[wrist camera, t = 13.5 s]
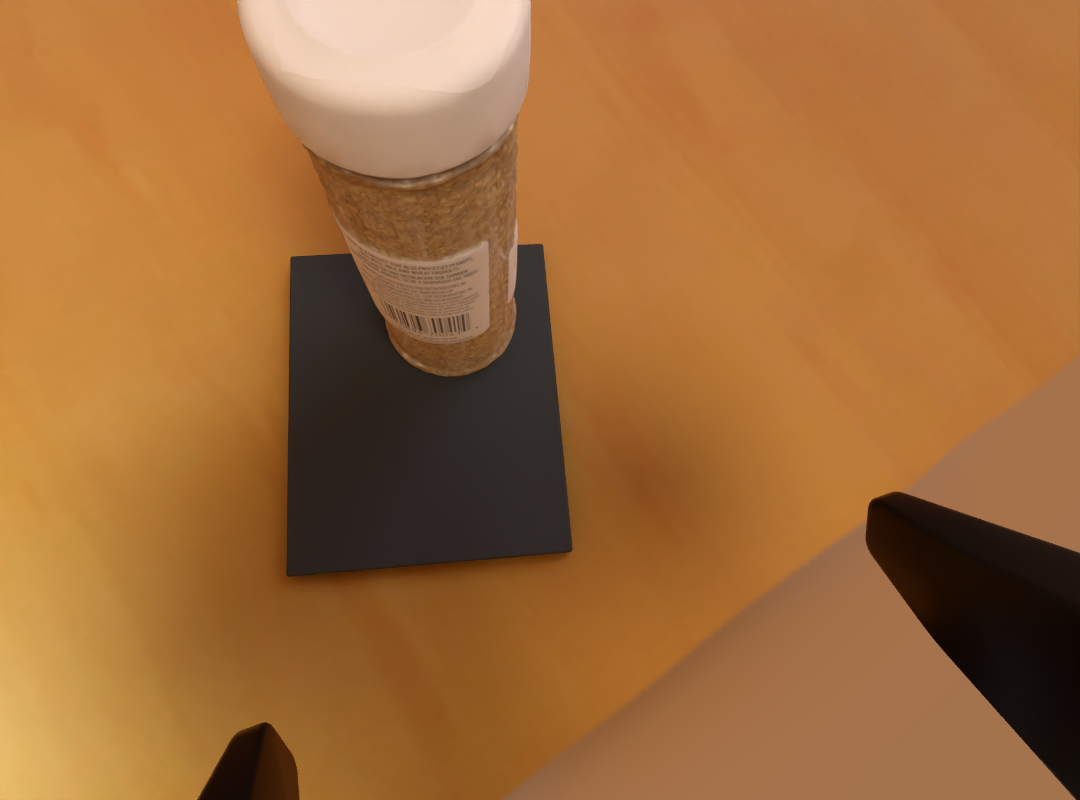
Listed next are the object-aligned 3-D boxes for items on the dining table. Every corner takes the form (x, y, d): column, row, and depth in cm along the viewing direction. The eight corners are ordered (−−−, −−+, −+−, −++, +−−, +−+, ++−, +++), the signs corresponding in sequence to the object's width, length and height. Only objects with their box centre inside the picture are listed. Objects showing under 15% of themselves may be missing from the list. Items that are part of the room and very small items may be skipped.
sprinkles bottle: (537, 293, 23) (583, -67, 10) (478, 403, 22) (445, 152, 9) (424, 239, 24) (329, -178, 11) (359, 345, 22) (163, 21, 9)
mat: (571, 552, 21) (573, 551, 21) (290, 576, 21) (285, 576, 20) (542, 249, 24) (543, 243, 24) (294, 262, 24) (290, 255, 23)
